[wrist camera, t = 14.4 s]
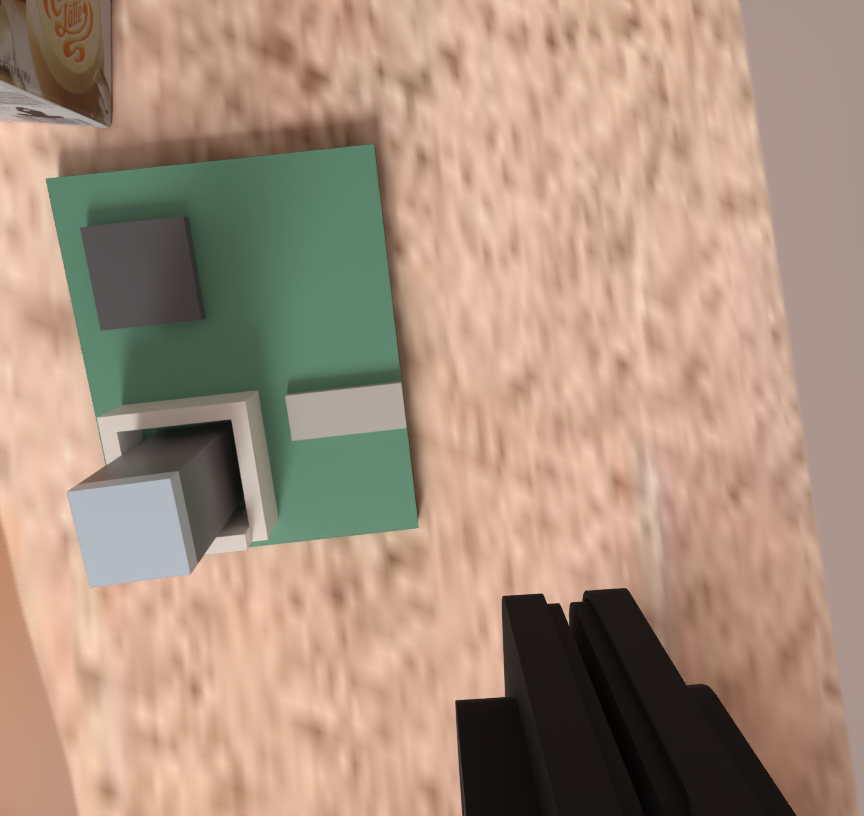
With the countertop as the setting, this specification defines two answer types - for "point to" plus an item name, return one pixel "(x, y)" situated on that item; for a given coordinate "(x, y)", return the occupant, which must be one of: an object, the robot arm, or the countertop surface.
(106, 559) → the plug
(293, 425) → the board
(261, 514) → the frame
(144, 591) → the countertop surface
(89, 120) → the coffee box
